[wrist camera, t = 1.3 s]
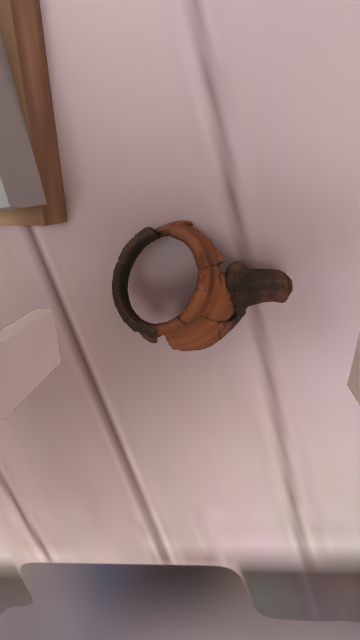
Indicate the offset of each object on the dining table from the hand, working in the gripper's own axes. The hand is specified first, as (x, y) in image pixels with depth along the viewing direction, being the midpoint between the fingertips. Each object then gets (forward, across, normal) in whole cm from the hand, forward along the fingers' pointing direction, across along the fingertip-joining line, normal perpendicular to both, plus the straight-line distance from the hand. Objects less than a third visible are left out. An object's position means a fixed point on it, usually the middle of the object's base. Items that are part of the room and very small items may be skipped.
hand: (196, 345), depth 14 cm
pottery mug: (+13, -1, 0) cm, 13 cm away
